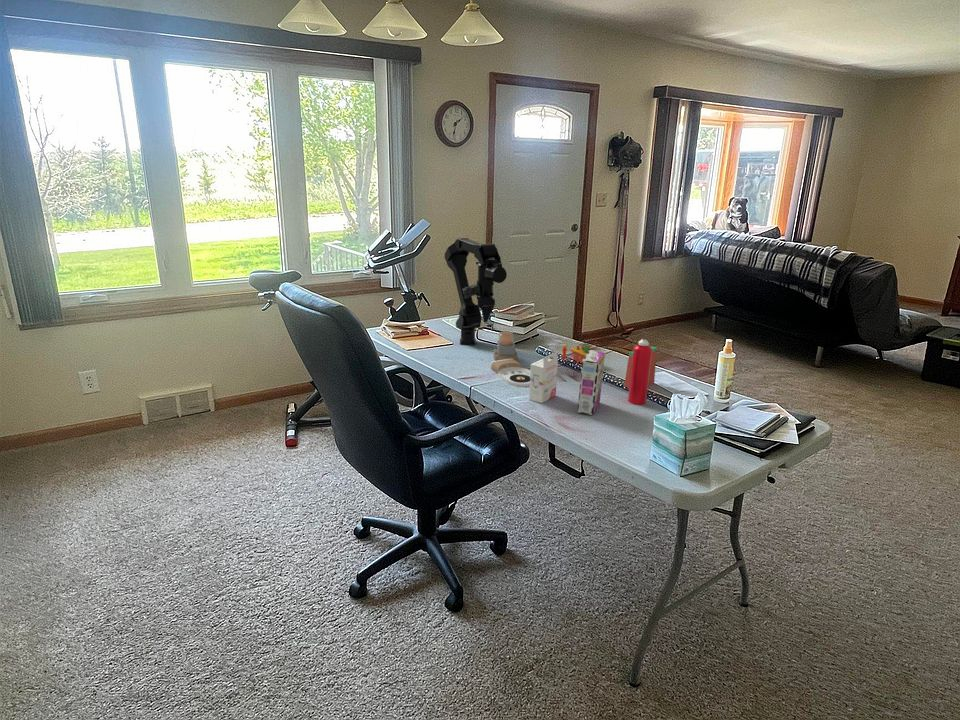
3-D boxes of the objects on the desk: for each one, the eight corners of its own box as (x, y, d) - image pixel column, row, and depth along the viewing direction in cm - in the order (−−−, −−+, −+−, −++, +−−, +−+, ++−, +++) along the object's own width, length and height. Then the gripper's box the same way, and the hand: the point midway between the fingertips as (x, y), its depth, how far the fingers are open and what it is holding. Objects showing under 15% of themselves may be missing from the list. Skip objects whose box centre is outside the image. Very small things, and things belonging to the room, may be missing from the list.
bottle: (643, 398, 181) (650, 336, 174) (648, 404, 175) (655, 342, 169) (626, 397, 181) (632, 336, 174) (630, 404, 175) (637, 341, 169)
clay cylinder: (498, 341, 213) (498, 331, 211) (512, 341, 213) (512, 331, 212) (499, 345, 208) (499, 334, 207) (512, 345, 208) (513, 335, 207)
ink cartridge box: (542, 391, 184) (545, 347, 179) (556, 395, 181) (559, 351, 177) (528, 399, 178) (530, 354, 173) (542, 403, 175) (544, 358, 170)
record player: (516, 357, 207) (545, 376, 190) (516, 365, 208) (545, 385, 191) (487, 361, 202) (515, 381, 186) (487, 370, 204) (514, 390, 187)
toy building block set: (628, 391, 186) (632, 350, 181) (557, 361, 214) (559, 324, 209) (654, 384, 193) (659, 344, 188) (581, 356, 220) (584, 320, 215)
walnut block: (493, 358, 216) (494, 349, 215) (515, 358, 217) (515, 349, 216) (495, 365, 209) (495, 356, 208) (517, 365, 209) (517, 356, 208)
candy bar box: (594, 416, 167) (598, 363, 161) (577, 413, 168) (581, 360, 163) (601, 402, 177) (605, 351, 171) (584, 399, 178) (588, 349, 173)
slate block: (497, 350, 214) (497, 341, 213) (513, 350, 215) (513, 341, 213) (498, 355, 209) (498, 346, 207) (515, 355, 209) (515, 346, 208)
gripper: (463, 273, 221) (463, 312, 226) (464, 282, 204) (463, 325, 209) (492, 273, 222) (491, 313, 227) (495, 283, 204) (494, 325, 209)
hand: (484, 319), depth 218 cm, fingers open, 9 cm apart
